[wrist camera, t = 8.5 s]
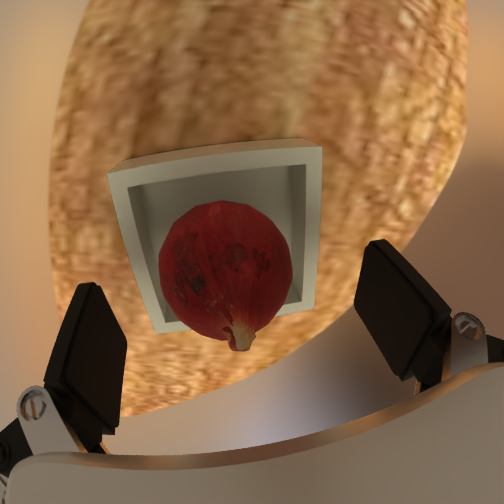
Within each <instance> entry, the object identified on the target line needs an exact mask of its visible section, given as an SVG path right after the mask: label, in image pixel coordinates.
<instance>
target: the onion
mask: <svg viewBox="0 0 504 504" xmlns="http://www.w3.org/2000/svg"><path fill="white" fill-rule="evenodd" d="M158 267H159V277H160V286H161V290H162V293H163V296H164V298H165V299H166V301H167V303H168V304H169V306H170V308H171V309H172V311H173V312H174V314H175V315H176V317H177V318H178V319H179V320H180V321H181V322H182V323H184V324H185V325H186V326H188V327H189V328H191V329H192V330H194V331H196V332H197V333H199V334H200V335H203V336H206V337H210V338H214V339H217V340H221V341H223V340H228V344H229V347H230V348H231V350H232V351H248V350H249V349H250V346H251V343H252V342H253V340H254V339H255V337H256V335H255V332H257V331H258V330H260V329H262V328H263V327H265V326H266V325H268V324H269V322H270V321H271V320H272V319H273V318H274V316H275V315H276V314H277V313H278V311H279V310H280V309H281V307H282V306H283V305H284V302H285V300H286V298H287V294H288V291H289V288H290V286H291V282H292V279H293V267H292V261H291V256H290V250H289V246H288V244H287V241H286V239H285V237H284V236H283V235H282V233H281V232H280V231H279V229H278V228H277V227H276V225H275V224H274V223H273V221H272V220H270V219H269V218H268V217H267V216H266V215H264V214H263V213H261V212H259V211H258V210H256V209H255V208H253V207H251V206H250V205H248V204H243V203H237V202H231V201H225V200H220V201H215V202H211V203H206V204H201V205H197V206H194V207H193V208H192V209H190V210H189V211H188V212H186V213H185V214H184V215H183V216H181V217H180V218H179V219H177V220H176V221H175V222H174V223H173V225H172V227H171V228H170V230H169V232H168V235H167V237H166V239H165V241H164V243H163V245H162V247H161V250H160V252H159V260H158Z"/></svg>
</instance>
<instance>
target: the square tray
mask: <svg viewBox="0 0 504 504" xmlns="http://www.w3.org/2000/svg"><path fill="white" fill-rule="evenodd" d="M107 177H108V182H109V186H110V191H111V195H112V199H113V203H114V207H115V211H116V215H117V219H118V223H119V226H120V230H121V233H122V237H123V240H124V244H125V247H126V250H127V254H128V257H129V260H130V263H131V266H132V269H133V273H134V275H135V278H136V281H137V284H138V287H139V290H140V293H141V296H142V298H143V301H144V304H145V306H146V309H147V312H148V314H149V317H150V319H151V322H152V325H153V327H154V330H155V332H156V334H160V333H169V332H177V331H185V330H192V329H191V328H189V327H188V326H186V325H185V324H184V323H182V322H181V321H180V320H179V319H178V318H177V317H176V315H175V314H174V312H173V311H172V309H171V308H170V306H169V304H168V303H167V301H166V299H165V298H164V296H163V293H162V290H161V286H160V277H159V267H158V260H159V252H160V250H161V247H162V245H163V243H164V241H165V239H166V237H167V235H168V232H169V230H170V228H171V227H172V225H173V223H174V222H175V221H176V220H177V219H179V218H180V217H181V216H183V215H184V214H185V213H186V212H188V211H189V210H190V209H192V208H193V207H194V206H197V205H201V204H206V203H211V202H215V201H220V200H225V201H231V202H237V203H243V204H248V205H250V206H251V207H253V208H255V209H256V210H258V211H259V212H261V213H263V214H264V215H266V216H267V217H268V218H269V219H270V220H272V221H273V223H274V224H275V225H276V227H277V228H278V229H279V231H280V232H281V233H282V235H283V236H284V237H285V239H286V241H287V244H288V246H289V250H290V256H291V261H292V267H293V279H292V282H291V286H290V288H289V291H288V294H287V298H286V300H285V302H284V305H283V306H282V307H281V309H280V310H279V311H278V313H277V314H276V315H275V316H280V315H285V314H291V313H296V312H301V311H306V310H310V309H314V300H315V290H316V278H317V266H318V253H319V238H320V220H321V196H322V146H320V145H317V144H315V143H313V142H310V141H308V140H305V139H303V138H291V139H272V140H258V141H246V142H236V143H226V144H218V145H209V146H202V147H195V148H188V149H181V150H175V151H169V152H163V153H158V154H152V155H147V156H142V157H137V158H132V159H127V160H123V161H121V162H120V163H119V164H118V165H116V166H115V167H114V168H113V169H112V170H111V171H110V172H108V173H107ZM275 316H274V317H275Z"/></svg>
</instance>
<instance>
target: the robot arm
mask: <svg viewBox="0 0 504 504" xmlns="http://www.w3.org/2000/svg"><path fill="white" fill-rule="evenodd" d="M354 307H355V310H356V311H357V313H358V315H359V316H360V318H361V319H362V321H363V322H364V324H365V326H366V327H367V329H368V331H369V332H370V334H371V336H372V337H373V339H374V341H375V342H376V344H377V346H378V347H379V349H380V351H381V352H382V354H383V356H384V357H385V359H386V361H387V363H388V364H389V366H390V368H391V370H392V371H393V373H394V374H395V375H396V376H399V378H400V379H401V381H402V382H403V381H405V380H407V379H409V378H411V377H413V376H415V377H416V379H417V383H416V388H415V394H414V396H413V397H411V398H408V399H406V400H404V401H402V402H400V403H397V404H395V405H393V406H390V407H388V408H386V409H383V410H381V411H378V412H376V413H373V414H371V415H368V416H365V417H363V418H360V419H357V420H354V421H352V422H349V423H346V424H343V425H340V426H336V427H333V428H330V429H327V430H324V431H320V432H316V433H313V434H309V435H305V436H302V437H298V438H294V439H289V440H285V441H281V442H276V443H271V444H266V445H261V446H255V447H250V448H243V449H236V450H229V451H221V452H212V453H202V454H187V455H163V456H144V455H112V454H111V453H110V452H109V451H108V449H107V448H106V447H105V445H104V444H103V443H102V434H105V435H115V428H116V427H118V426H119V419H120V405H121V394H122V384H123V375H124V367H125V360H126V352H127V340H126V337H125V335H124V333H123V331H122V329H121V327H120V326H119V324H118V322H117V320H116V318H115V316H114V314H113V311H112V309H111V307H110V305H109V303H108V301H107V299H106V297H105V295H104V292H103V290H102V288H101V287H100V286H99V285H98V286H97V285H96V284H95V283H94V282H89V283H82V284H79V285H78V286H77V288H76V291H75V293H74V295H73V298H72V300H71V302H70V305H69V307H68V310H67V312H66V315H65V317H64V320H63V322H62V325H61V328H60V330H59V333H58V336H57V339H56V342H55V345H54V347H53V351H52V354H51V357H50V360H49V363H48V366H47V370H46V373H45V377H44V380H43V381H44V382H45V384H44V387H41V386H37V385H36V386H31V387H29V388H27V389H26V390H25V391H24V392H23V393H22V394H21V396H20V397H19V399H18V402H17V415H18V417H17V418H16V419H15V420H14V421H13V422H11V424H9V425H8V426H7V427H6V428H5V429H4V430H2V431H1V432H0V504H504V340H501V339H499V338H496V337H493V336H489V335H487V334H486V331H485V327H484V325H483V323H482V322H481V321H480V319H479V318H477V317H476V316H474V315H473V314H470V313H468V312H459V313H457V314H455V315H454V317H453V318H451V317H450V313H451V311H452V310H451V308H450V307H449V306H448V305H447V304H446V302H445V301H444V300H443V299H442V298H441V297H440V296H439V294H438V293H437V292H436V291H435V290H434V289H433V288H432V287H431V286H430V285H429V283H428V282H427V281H426V280H425V279H424V278H423V277H422V276H421V275H420V274H419V273H418V272H417V270H416V269H415V268H414V267H413V266H412V265H411V264H410V263H409V262H408V261H407V260H406V259H405V258H404V257H403V256H402V255H401V254H400V253H399V252H398V251H397V250H396V249H395V248H394V247H393V246H392V245H391V244H390V243H389V242H388V241H387V240H385V239H381V240H374V241H371V242H370V243H369V244H368V246H366V247H365V251H364V256H363V261H362V266H361V271H360V276H359V281H358V285H357V290H356V294H355V298H354Z"/></svg>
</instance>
